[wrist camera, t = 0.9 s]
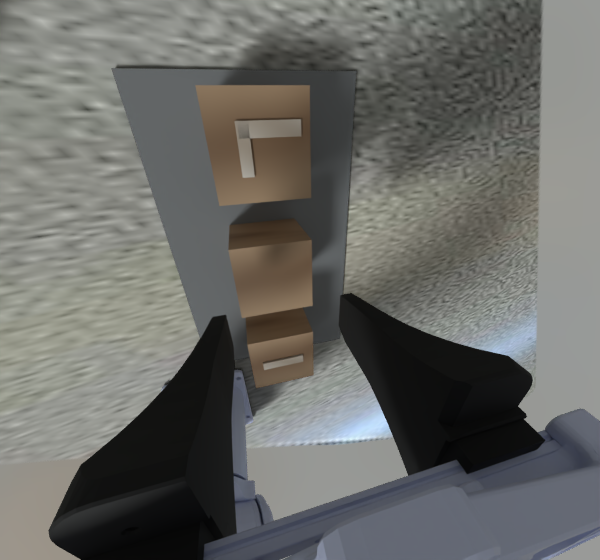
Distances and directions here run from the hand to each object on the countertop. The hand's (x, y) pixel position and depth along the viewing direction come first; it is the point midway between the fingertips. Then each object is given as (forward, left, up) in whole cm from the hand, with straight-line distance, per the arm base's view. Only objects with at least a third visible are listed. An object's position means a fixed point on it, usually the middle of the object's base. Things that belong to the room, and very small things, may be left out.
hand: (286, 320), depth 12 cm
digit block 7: (+8, 0, -9) cm, 12 cm away
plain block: (0, 0, -9) cm, 9 cm away
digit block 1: (-7, 0, -9) cm, 12 cm away
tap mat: (0, 0, -9) cm, 9 cm away
